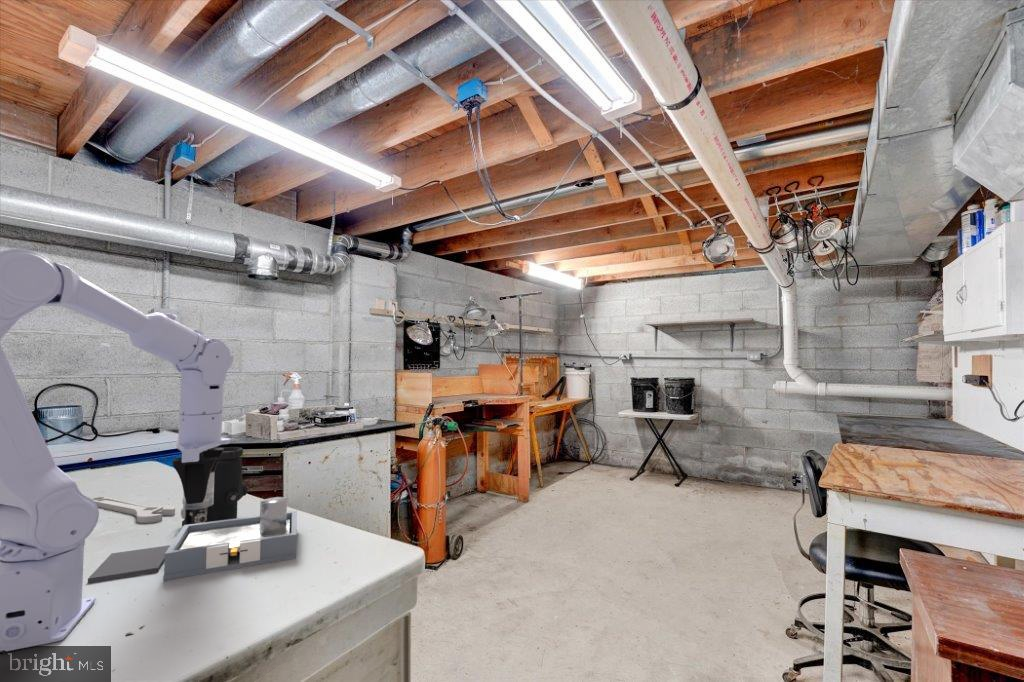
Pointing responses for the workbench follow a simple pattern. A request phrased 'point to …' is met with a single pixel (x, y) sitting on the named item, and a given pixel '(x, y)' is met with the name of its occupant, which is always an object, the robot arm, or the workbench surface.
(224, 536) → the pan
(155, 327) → the robot arm
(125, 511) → the adjustable wrench
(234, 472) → the scope
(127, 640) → the workbench surface
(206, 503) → the cylinder
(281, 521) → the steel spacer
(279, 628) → the workbench surface
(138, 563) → the rubber mat
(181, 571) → the tray
